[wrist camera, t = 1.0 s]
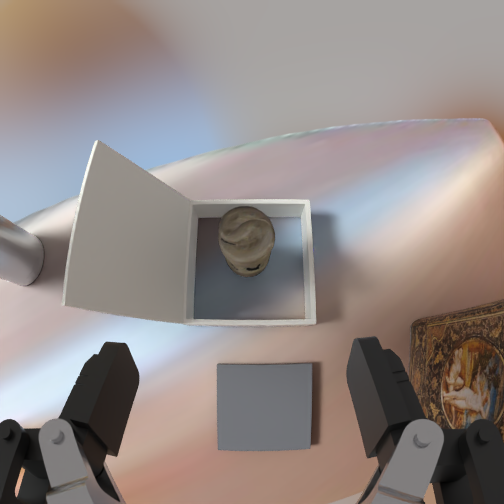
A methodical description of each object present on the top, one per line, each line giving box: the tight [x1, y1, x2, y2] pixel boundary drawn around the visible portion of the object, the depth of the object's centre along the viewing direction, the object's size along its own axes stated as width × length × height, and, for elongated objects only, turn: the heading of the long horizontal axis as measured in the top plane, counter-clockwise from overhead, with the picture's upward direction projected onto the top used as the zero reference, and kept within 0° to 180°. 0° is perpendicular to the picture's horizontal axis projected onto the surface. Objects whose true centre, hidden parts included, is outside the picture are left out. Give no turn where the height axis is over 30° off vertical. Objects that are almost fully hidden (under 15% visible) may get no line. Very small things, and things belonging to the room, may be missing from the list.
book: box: [408, 299, 504, 442], centre depth 24 cm, size 16×6×25 cm, turn 176°
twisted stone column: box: [218, 206, 275, 277], centre depth 34 cm, size 6×6×15 cm
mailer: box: [62, 140, 316, 327], centre depth 32 cm, size 23×16×19 cm
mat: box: [217, 363, 312, 451], centre depth 35 cm, size 12×12×2 cm
